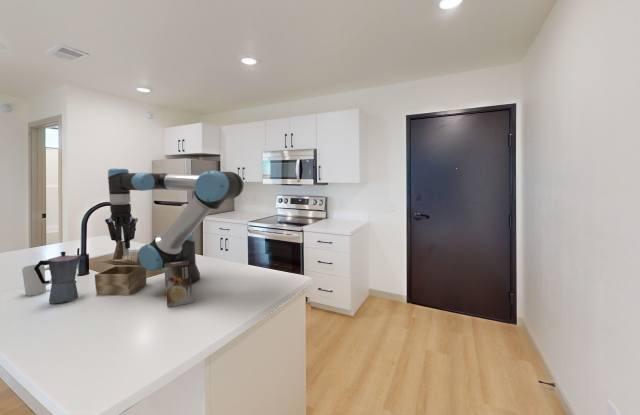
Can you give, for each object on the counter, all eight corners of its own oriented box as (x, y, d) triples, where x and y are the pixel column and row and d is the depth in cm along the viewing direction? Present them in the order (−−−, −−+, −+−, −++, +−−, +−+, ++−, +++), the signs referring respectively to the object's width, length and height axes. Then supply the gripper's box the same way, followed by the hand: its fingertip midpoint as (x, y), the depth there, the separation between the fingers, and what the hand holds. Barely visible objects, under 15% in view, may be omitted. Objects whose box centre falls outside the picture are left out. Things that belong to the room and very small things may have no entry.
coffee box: (191, 297, 119) (189, 259, 117) (192, 302, 113) (190, 263, 111) (166, 301, 114) (164, 262, 113) (166, 307, 109) (163, 267, 107)
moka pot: (91, 294, 121) (87, 248, 119) (47, 310, 107) (42, 258, 105) (77, 291, 124) (73, 247, 122) (32, 306, 110) (26, 256, 108)
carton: (147, 284, 133) (146, 265, 132) (130, 294, 121) (129, 274, 120) (115, 284, 132) (113, 266, 131) (95, 295, 120) (93, 274, 120)
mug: (25, 297, 118) (22, 269, 117) (24, 293, 122) (21, 266, 121) (57, 290, 126) (55, 264, 124) (55, 286, 130) (53, 261, 129)
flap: (142, 265, 131) (146, 246, 134) (127, 260, 121) (132, 240, 124) (115, 265, 131) (120, 246, 134) (98, 260, 121) (104, 240, 124)
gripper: (141, 202, 129) (144, 253, 131) (110, 202, 129) (113, 253, 131) (131, 204, 122) (134, 257, 124) (97, 204, 121) (101, 257, 124)
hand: (123, 255), depth 127 cm, fingers closed on flap
